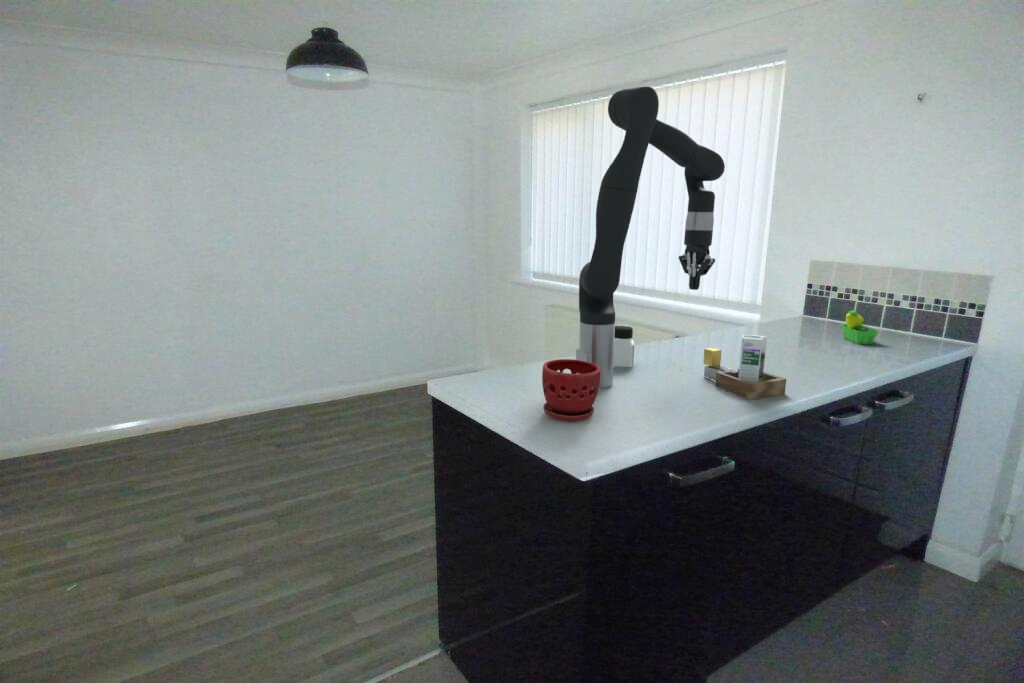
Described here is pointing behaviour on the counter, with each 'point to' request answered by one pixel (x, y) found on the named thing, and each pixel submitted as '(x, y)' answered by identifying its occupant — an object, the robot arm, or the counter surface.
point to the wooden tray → (751, 385)
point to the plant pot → (570, 389)
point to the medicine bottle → (623, 346)
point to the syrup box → (752, 358)
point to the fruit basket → (857, 329)
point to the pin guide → (712, 372)
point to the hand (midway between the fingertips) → (693, 289)
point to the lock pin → (716, 360)
